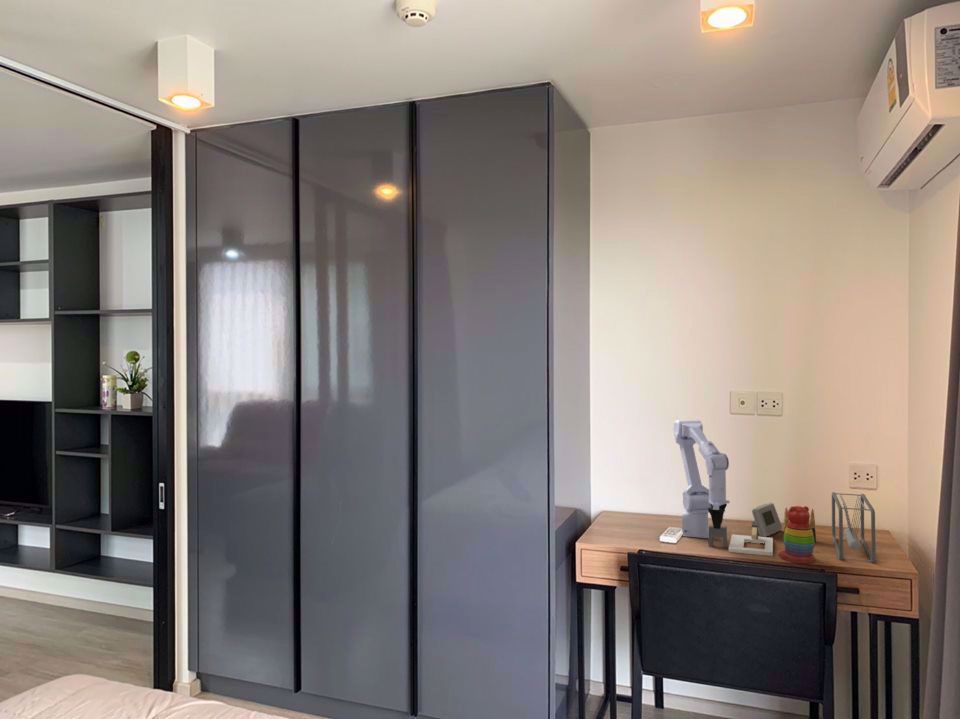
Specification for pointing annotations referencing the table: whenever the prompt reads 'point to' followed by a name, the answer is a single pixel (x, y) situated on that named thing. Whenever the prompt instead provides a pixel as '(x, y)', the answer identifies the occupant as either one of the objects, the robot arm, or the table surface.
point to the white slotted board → (739, 540)
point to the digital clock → (766, 519)
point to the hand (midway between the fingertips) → (717, 526)
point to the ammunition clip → (811, 523)
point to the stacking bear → (798, 537)
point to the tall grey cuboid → (718, 535)
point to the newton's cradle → (849, 532)
